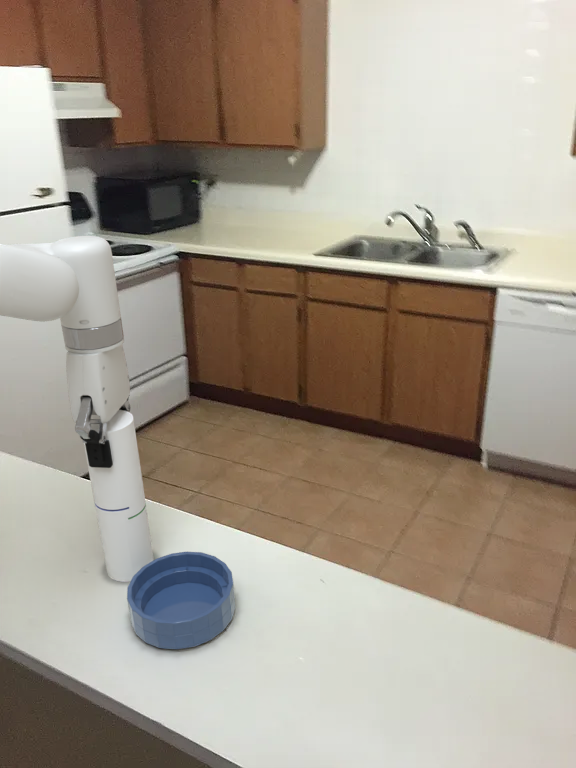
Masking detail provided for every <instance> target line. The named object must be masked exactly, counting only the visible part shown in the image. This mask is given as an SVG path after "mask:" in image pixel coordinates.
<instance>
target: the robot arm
mask: <svg viewBox="0 0 576 768" xmlns="http://www.w3.org/2000/svg"><path fill="white" fill-rule="evenodd" d="M0 316H1V317H6V318H7V317H8V318H14V319H20V320H26V321H32V322H41V323H42V322H43V323H45V322H52V321H56V320H59V319H60V325H61V326H60V327H61V331H62V336H63V343H64V348H65V350H66V351H67V352H66V358H65V359H66V360H65V361H66V362H65V363H66V366H65V367H66V368H65V369H66V384H67V393H68V401H69V407H70V408H69V409H70V414H71V419H72V421H73V422H74V423H75V426H74V430H75V433H76V434H77V435H78V436H79V438H80V439H81V440H82V443H83V444H84V443H85V445H86V451H87V457H88V462H89V466H90V467H98V468H111V466H112V465H113V462H112V456H111V449H110V443H109V440H106V429H107V422H108V421H109V420H110V419H111V418H112V417H113V416H114V415H115V414H116V412H117V411H118V410H124V411H127V412H130V413H131V404H130V402H129V398H130V395H131V384H130V376H129V369H128V364H127V359H126V355H125V349H124V345H123V344H124V343H125V337H124V336H125V335H124V330H123V323H122V316H121V307H120V301H119V293H118V286H117V279H116V273H115V265H114V258H113V252H112V247H111V245H110V243H109V242H108V241H107V240H106V239H105V238H104V237H101V236H98V235H76V236H68V237H64V238H60V239H58V240H55V241H52V242H38V243H37V242H35V243H12V244H11V243H10V244H9V243H8V244H4V243H0ZM91 415H97V416H100V419H91ZM91 424H99V433H98V432H96V431H95V430H92V429H91Z"/></svg>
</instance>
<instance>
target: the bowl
mask: <svg viewBox="0 0 576 768" xmlns="http://www.w3.org/2000/svg"><path fill="white" fill-rule="evenodd" d="M126 590H127V591H126V601H127V608H128V613H129V619H130V625H131V626H132V629H133V632H134V633H135V635H136V636H138V637H139V638H140V639H141V640H142V641H143V642H144V643H146V644H148V645H151V646H153V647H156V648H159V649H166V650H182V649H189V648H194V647H197V646H200V645H203V644H205V643H207V642H209V641H211V640H213V639H214V638H215V637H217V636H218V635H219V634H221V633H222V632H223V631H225V629H226V628H227V627H228V625H229V624H230V622H231V621H232V620H233V616H234V613H235V610H236V600H235V599H236V598H235V588H234V578H233V573H232V571H231V569H230V568H229V567H228V565H227V564H226V562H225V561H223V560H221V559H220V558H218V557H217V556H215V555H211V554H209V553H205V552H201V551H179V552H173V553H168V554H166V555H164V556H160V557H157V558H154V560H153V561H152V562H150V563H148V564H147V565H145V566H143V567H142V568H141V569H140V570H139V571H138V572H137V573H136V574H135V575H134V576H133V578H132V580H131V581H130V582H129V583H128V585H127V589H126Z"/></svg>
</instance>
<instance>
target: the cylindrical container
mask: <svg viewBox="0 0 576 768" xmlns="http://www.w3.org/2000/svg"><path fill="white" fill-rule="evenodd" d="M91 419H100V416H97V415H91ZM134 419H135V418H134V415H133V413H131V411H130V412H127V411H124V410H118V411H117V412H116V414H115V415H114V416H113V417H112V418H111V419H110V420H109V421H108V422H107V429H106V440H109V443H110V449H111V456H112V462H113V465H112V466H111V468H98V467H90V466H89V462H88V457H87V451H86V445H85V443H83V447H84V453H85V459H86V464H87V469H88V476H89V481H90V486H91V490H92V496H93V503H94V508H95V509H94V510H95V514H96V520H97V524H98V529H99V536H100V541H101V547H102V552H103V558H104V559H103V560H104V563H105V570H106V575H107V576H108V577H109V578H110V579H112V580H113V581H116V582H121V583H130V582H131V580H132V578H133V576H134V575H135V574H136V573H137V572H138V571H139V570H140V569H141V568H142V567H143V566H145V565H147V564H148V563H150V562H152V561H153V560H155V558H154V552H153V551H154V550H153V545H152V538H151V529H150V524H149V517H148V509H147V502H146V495H145V488H144V481H143V475H142V474H143V473H142V467H141V461H140V453H139V447H138V439H137V433H136V425H135V420H134ZM91 429H92V430H95V431H96V432H98V433H99V424H91Z"/></svg>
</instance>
